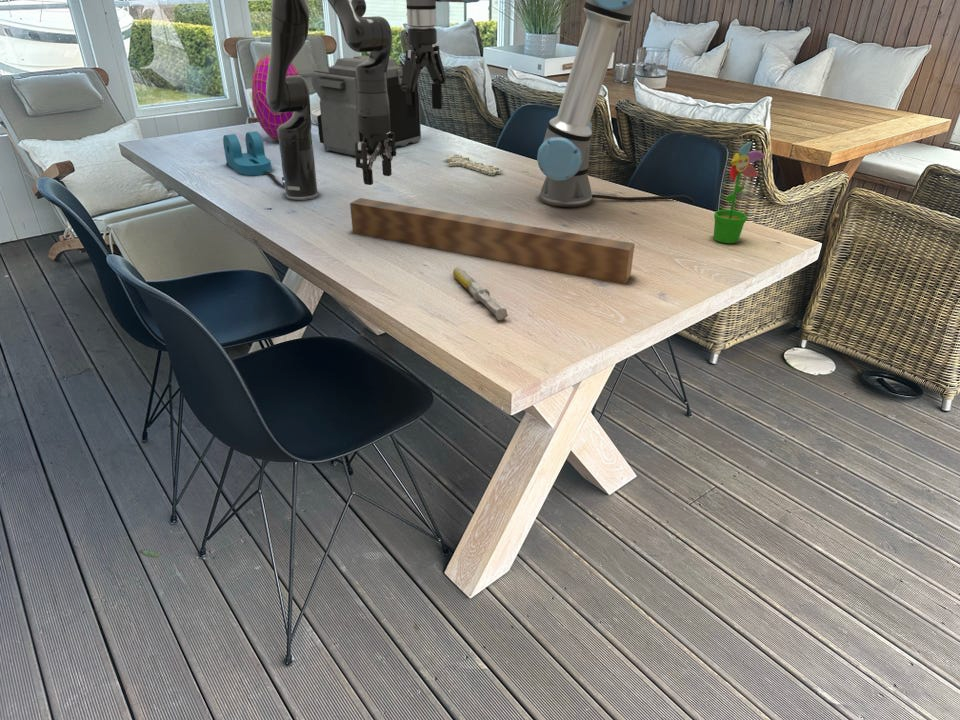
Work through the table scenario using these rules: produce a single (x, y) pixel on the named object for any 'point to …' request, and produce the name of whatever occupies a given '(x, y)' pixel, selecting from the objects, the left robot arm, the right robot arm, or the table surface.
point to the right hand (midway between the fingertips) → (425, 113)
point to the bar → (495, 240)
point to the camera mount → (246, 154)
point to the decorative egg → (259, 99)
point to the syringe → (479, 293)
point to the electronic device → (341, 106)
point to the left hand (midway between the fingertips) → (378, 179)
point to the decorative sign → (472, 165)
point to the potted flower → (731, 220)
